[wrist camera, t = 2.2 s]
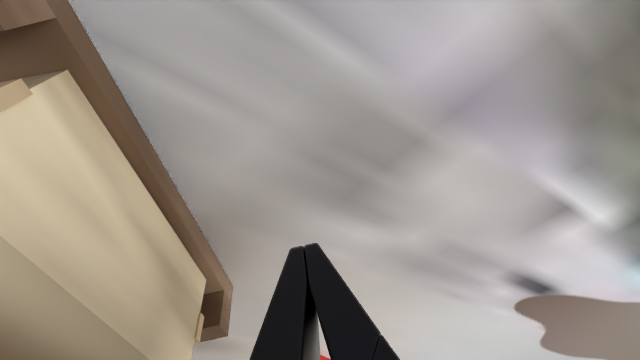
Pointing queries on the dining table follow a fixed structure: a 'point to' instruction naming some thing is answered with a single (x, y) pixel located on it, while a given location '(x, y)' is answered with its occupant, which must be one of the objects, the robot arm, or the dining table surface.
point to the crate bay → (108, 125)
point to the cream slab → (84, 239)
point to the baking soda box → (323, 358)
